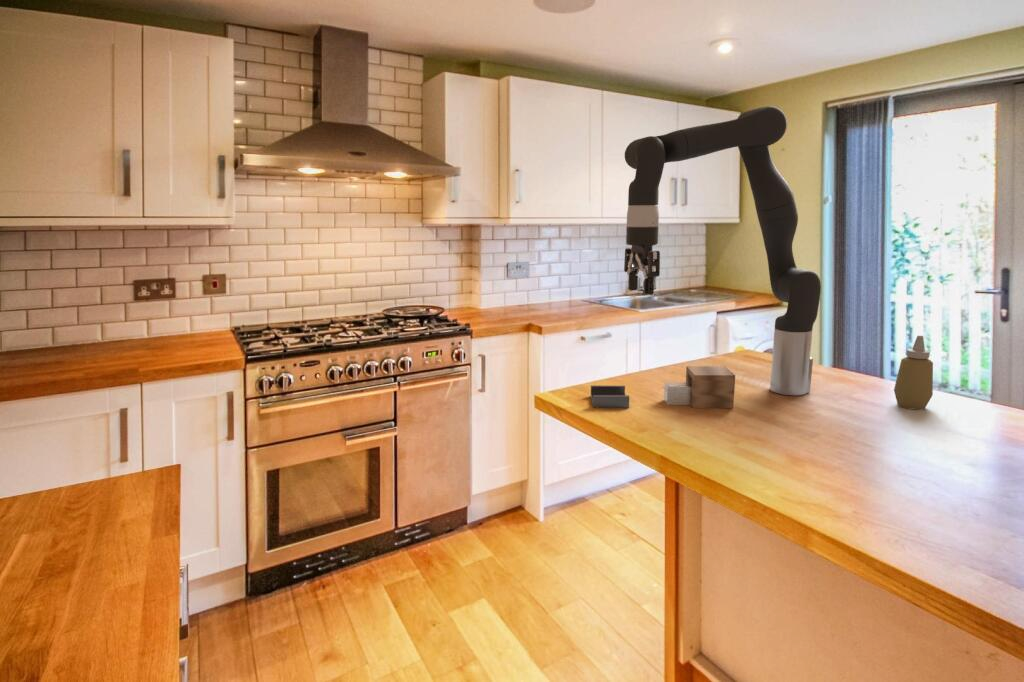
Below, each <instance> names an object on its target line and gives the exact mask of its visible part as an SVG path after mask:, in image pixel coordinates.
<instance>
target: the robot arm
mask: <svg viewBox="0 0 1024 682" xmlns="http://www.w3.org/2000/svg"><path fill="white" fill-rule="evenodd" d="M787 127H788V121H787V117H786V114H785V113H784V112H783V110H782V109H780V108H778V107H776V106H770V105H767V106H761V107H757V108H753V109H749V110H746V111H744V112H742V113H741V114H740V115H739V116H738V117H737V118H735V119H731V120H727V121H722V122H716V123H709V124H703V125H697V126H692V127H687V128H683V129H678V130H673V131H671V132H667V133H666V134H662V135H657V136H653V135H651V136H645V137H642V138H638V139H634V140H632V141H631V142H630V143H629V144H628V145H627V147H626V149H625V150H624V160H625V163H626V164H627V166H629V167H630V168H632V169H634V170H635V175H634V179H633V180H632V181H631V182H630V183H629V186H628V196H627V197H628V200H627V212H626V230H625V231H626V232H625V235H626V238H625V240H626V241H625V244H626V245H627V246H631V247H626V248H625V249H624V263H623V265H624V268H623V272H624V273H627V276H628V290H629V291H631V292H632V291H638V287H639V286H638V285H639V284H638V283H639V281H638V280H639V275H638V274H639V272H640V271H641V272H642V274H643V277H644V279H643V294H644V295H646V296H647V295H653V294H654V289H655V288H654V287H655V284H654V283H655V279H656V278H657V277H660V275H661V273H660V272H661V271H660V269H661V267H660V265H661V264H660V263H661V262H660V261H661V253H660V250H653V246H657V245H658V243H659V225H660V224H659V221H660V213H659V197H660V196H659V194H660V193H659V188H660V183H661V179H662V176H663V171H664V168H665V164H666V163H675V162H677V163H678V162H681V161H687V160H691V159H695V158H698V157H703V156H706V155H709V154H713V153H717V152H720V151H723V150H728V149H732V148H738V151H739V153H740V156H741V158H742V163H743V164H744V167H745V170H746V173H747V177H748V180H749V185H750V189H751V192H752V196H753V197H752V198H753V201H754V206H755V211H756V215H757V219H758V223H759V227H760V230H761V234H762V239H763V243H764V248H765V252H766V258H767V264H768V265H767V266H768V275H769V282H770V288H771V291H772V294H773V296H774V297H775V298H776V299H777V300H779V301H780V302H783V303H787V306H786V307H787V308H786V312H784V313H785V314H784V315H780V316H778V317H776V318H775V320H774V331H773V345H772V355H771V356H772V357H771V358H772V360H771V369H770V370H771V371H770V372H771V373H770V384H769V389H770V391H771V392H773V393H774V394H775V393H776V394H780V395H783V396H784V395H785V396H804V395H806V394H808V393H811V386H812V375H813V365H814V364H813V363H814V359H813V357H811V349H812V338H813V329H814V328H813V327H814V324H815V322H816V321H817V317H818V312H819V306H820V305H819V304H820V300H821V299H820V298H821V289H822V284H821V279H820V276H819V275H818V274H817V273H816V272H815V271H812V270H809V269H802V268H797V265H796V261H795V258H794V257H795V256H794V252H793V242H794V240H795V239H794V238H795V236H796V232H797V227H798V222H799V214H798V209H797V208H798V207H797V204H796V201H795V195H794V193H793V191H792V188H791V186H790V185H789V184H788V182H787V181H786V179H785V178H784V176H782V174H781V173H780V172H779V169H777V167H776V165H775V163H774V161H773V159H772V155H771V152H770V147H769V146H771V145H774V144H776V143H778V141H780V140H781V139H782V138H783V136H784V135H785V133H786V131H787Z"/></svg>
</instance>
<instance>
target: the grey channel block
mask: <svg viewBox="0 0 1024 682" xmlns="http://www.w3.org/2000/svg"><path fill="white" fill-rule="evenodd" d="M590 398H591V404H592V408H593V407H601V408H600V409H629V408H630V395H626V386H625V385H599V384H598V385H595V384H593V385H590ZM602 407H604V408H602Z"/></svg>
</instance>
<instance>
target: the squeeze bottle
mask: <svg viewBox="0 0 1024 682" xmlns="http://www.w3.org/2000/svg"><path fill="white" fill-rule="evenodd" d="M905 355H906V356H905V357H903V358H901V359H900V360H901V361H900V365H899V368H898V372H897V376H896V381H895V385H894V387H893V388H894V389H893V392H894V395H895V399H896V404H897V405H898V406H899V407H901V408H905V409H909V410H925V409H926V407H927V405H928V404H929V402H930V401H931V399H932V397H933V393H934V392H933V390H934V387H933V386H934V363H933V361H932V360H931V359H929V358H930V351H929V350H927V349H926V347H925V341H924V336H923V335H917V336H916V338H915V341H914V343H913V346H912V348H908V349H907V350H906V354H905Z"/></svg>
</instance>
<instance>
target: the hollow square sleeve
mask: <svg viewBox="0 0 1024 682" xmlns="http://www.w3.org/2000/svg"><path fill="white" fill-rule="evenodd" d="M685 382H692V396H691V405H690V406H691V407H692V408H693V409H701V408H702V409H734V402H735V389H736V388H735V386H736V374H734V372H733V371H731V370H730V369H729V368H728V367H727V366H725V365H724V366H723V365H721V366H719V365H718V366H717V365H714V366H713V365H710V366H709V365H708V366H707V365H706V366H704V365H701V366H699V365H698V366H696V365H691V366H689V365H687V366H686V371H685Z"/></svg>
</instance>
